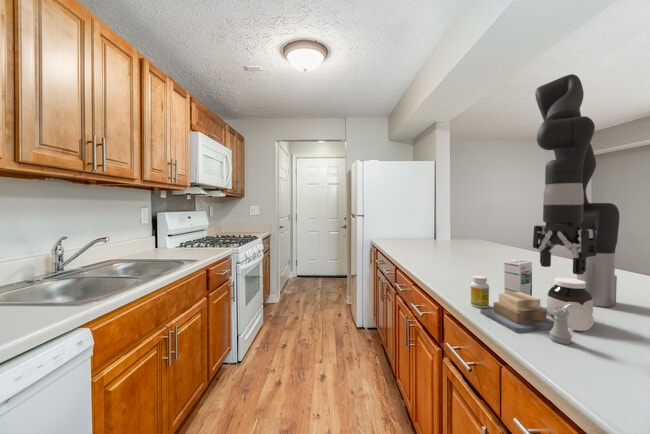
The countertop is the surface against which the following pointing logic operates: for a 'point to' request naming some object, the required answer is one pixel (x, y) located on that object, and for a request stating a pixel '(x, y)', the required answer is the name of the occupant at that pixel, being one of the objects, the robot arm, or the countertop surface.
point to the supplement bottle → (479, 292)
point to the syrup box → (518, 276)
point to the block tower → (519, 313)
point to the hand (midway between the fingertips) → (560, 270)
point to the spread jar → (572, 302)
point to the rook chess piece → (560, 327)
